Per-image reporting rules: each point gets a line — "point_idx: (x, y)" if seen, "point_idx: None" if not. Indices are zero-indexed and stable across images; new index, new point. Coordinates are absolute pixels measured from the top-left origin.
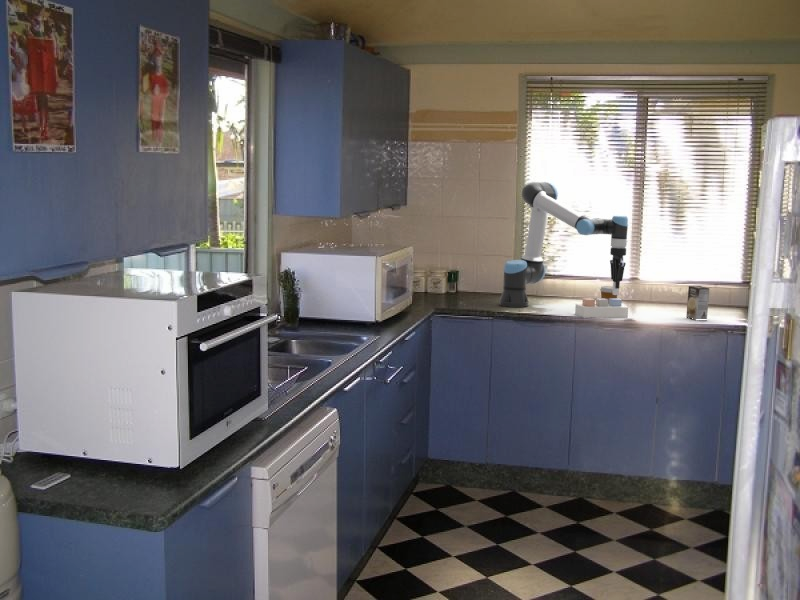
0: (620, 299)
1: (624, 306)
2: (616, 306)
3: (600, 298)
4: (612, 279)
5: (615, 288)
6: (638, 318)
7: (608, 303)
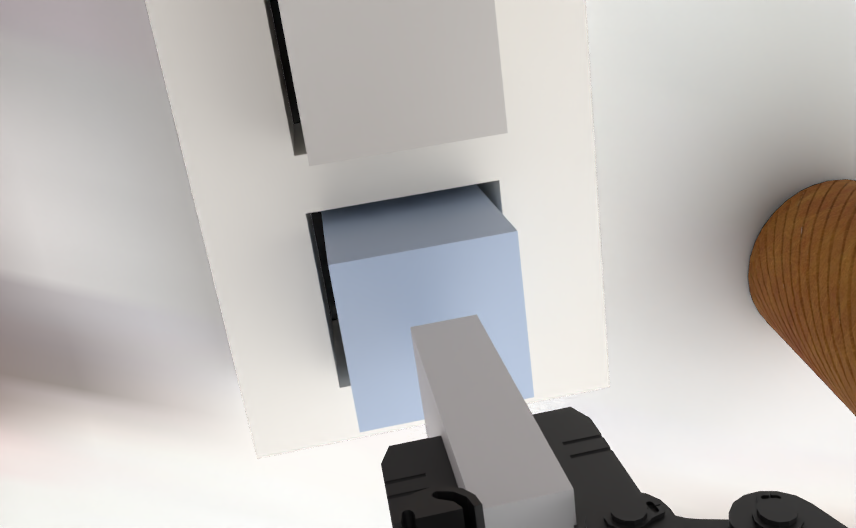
0: (386, 416)
1: (337, 419)
2: (313, 289)
3: (478, 30)
4: (742, 519)
5: (441, 432)
6: (193, 495)
7: (812, 273)
